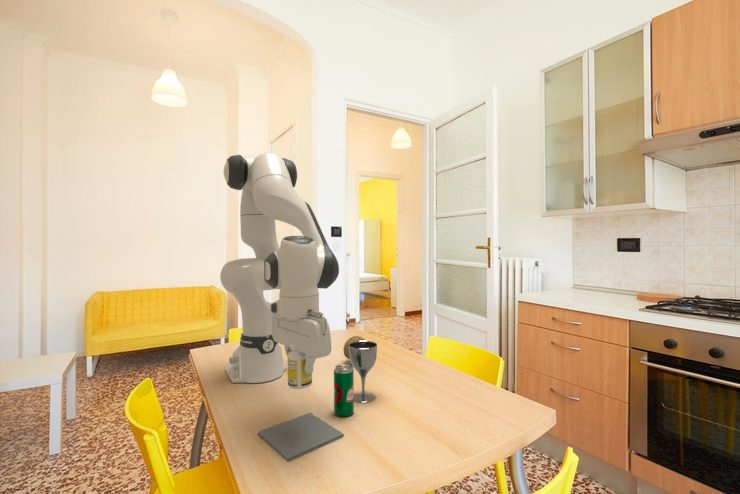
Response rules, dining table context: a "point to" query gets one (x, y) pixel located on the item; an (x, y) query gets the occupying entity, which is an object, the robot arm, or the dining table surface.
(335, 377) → the soda can
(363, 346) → the wine glass
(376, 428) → the dining table surface
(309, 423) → the mat
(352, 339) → the natural sponge
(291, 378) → the supplement bottle
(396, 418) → the dining table surface
